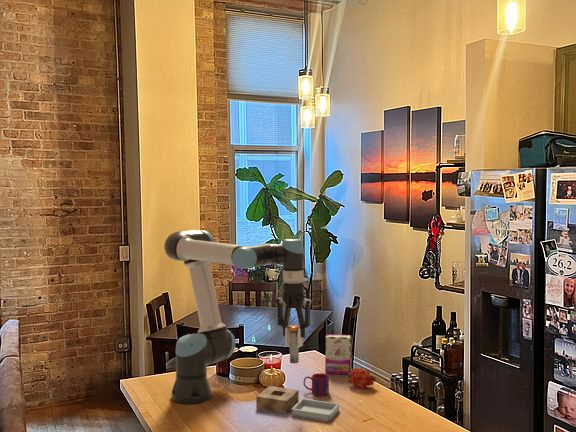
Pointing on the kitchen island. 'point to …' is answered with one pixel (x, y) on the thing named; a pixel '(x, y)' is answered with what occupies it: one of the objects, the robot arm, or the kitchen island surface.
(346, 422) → the kitchen island surface
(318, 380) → the mug
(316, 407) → the tray
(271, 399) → the socket block
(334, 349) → the candy bar box
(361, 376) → the dragon fruit
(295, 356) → the pin
